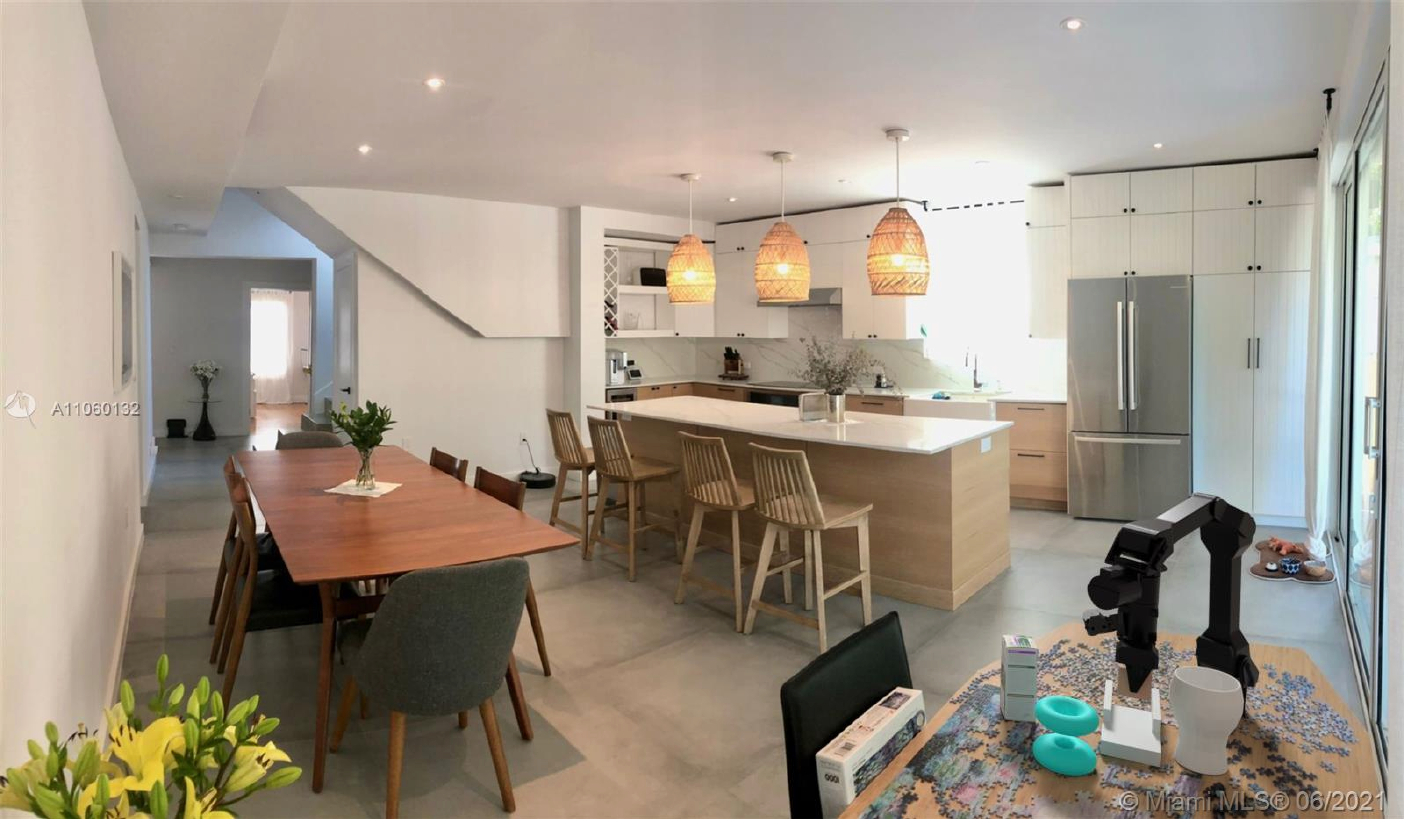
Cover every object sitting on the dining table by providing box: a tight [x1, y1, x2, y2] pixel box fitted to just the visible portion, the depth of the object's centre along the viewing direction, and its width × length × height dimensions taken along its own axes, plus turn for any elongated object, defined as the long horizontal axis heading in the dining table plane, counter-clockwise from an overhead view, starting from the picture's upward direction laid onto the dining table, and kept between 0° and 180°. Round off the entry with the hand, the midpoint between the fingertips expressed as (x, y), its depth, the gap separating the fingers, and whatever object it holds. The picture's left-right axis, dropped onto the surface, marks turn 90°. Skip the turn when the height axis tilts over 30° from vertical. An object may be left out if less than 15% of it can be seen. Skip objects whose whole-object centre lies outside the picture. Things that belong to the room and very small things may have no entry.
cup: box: [1168, 665, 1244, 776], centre depth 137 cm, size 11×11×15 cm
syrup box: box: [999, 634, 1039, 723], centre depth 153 cm, size 6×6×14 cm
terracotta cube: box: [1116, 663, 1153, 702], centre depth 140 cm, size 5×5×5 cm
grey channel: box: [1099, 678, 1162, 768], centre depth 147 cm, size 9×20×5 cm, turn 152°
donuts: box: [1031, 695, 1100, 777], centre depth 137 cm, size 10×10×10 cm
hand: (1133, 686), depth 140 cm, fingers closed on terracotta cube, 5 cm apart
